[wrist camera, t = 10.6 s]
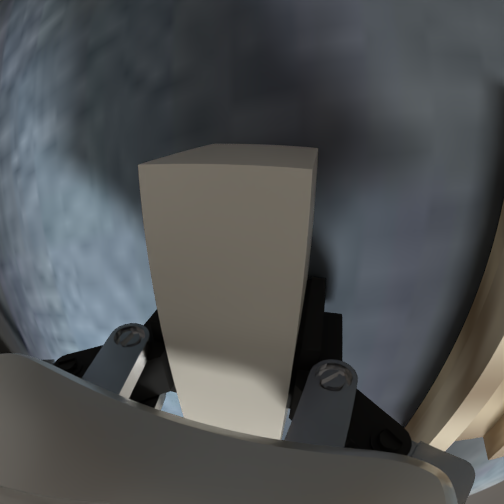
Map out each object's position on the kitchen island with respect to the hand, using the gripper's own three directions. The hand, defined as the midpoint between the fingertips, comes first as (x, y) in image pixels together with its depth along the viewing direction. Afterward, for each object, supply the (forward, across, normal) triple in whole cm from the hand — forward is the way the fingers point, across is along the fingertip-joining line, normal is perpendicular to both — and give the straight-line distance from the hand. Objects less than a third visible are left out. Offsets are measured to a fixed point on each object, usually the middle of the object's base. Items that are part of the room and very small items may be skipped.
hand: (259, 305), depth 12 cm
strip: (0, 0, 0) cm, 0 cm away
